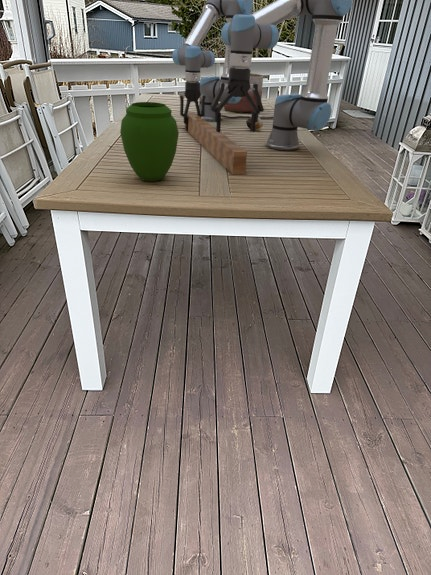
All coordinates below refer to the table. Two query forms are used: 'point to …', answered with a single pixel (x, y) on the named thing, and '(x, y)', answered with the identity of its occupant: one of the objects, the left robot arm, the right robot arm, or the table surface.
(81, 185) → the table surface
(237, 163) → the beam
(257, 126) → the seashell
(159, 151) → the vase
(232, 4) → the left robot arm
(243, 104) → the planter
